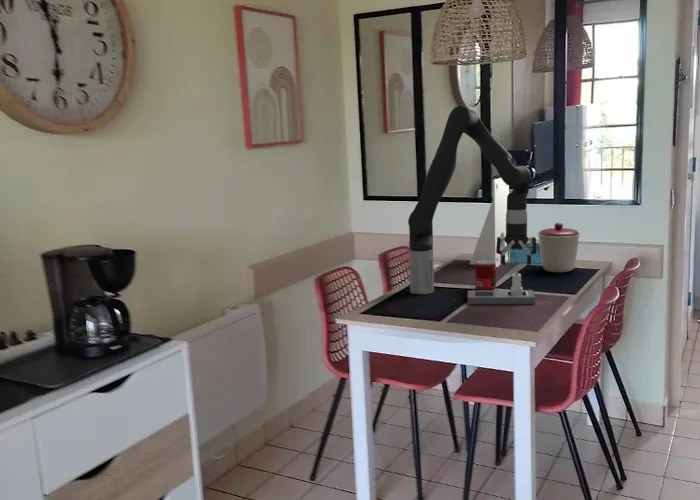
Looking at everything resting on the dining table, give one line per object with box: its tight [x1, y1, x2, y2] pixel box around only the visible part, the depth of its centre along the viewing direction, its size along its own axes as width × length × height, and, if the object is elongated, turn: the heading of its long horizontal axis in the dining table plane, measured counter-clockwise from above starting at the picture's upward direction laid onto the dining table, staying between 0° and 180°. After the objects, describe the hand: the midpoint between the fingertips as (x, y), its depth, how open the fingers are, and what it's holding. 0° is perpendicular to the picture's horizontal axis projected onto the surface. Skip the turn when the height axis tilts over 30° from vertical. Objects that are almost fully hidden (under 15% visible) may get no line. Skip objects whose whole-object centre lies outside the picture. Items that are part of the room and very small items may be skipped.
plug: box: [510, 272, 524, 296], centre depth 257 cm, size 4×4×10 cm
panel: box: [467, 289, 536, 305], centre depth 258 cm, size 24×11×3 cm, turn 80°
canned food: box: [474, 260, 497, 290], centre depth 276 cm, size 8×8×11 cm
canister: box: [536, 222, 581, 273], centre depth 302 cm, size 18×18×21 cm
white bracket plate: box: [469, 177, 510, 268], centre depth 323 cm, size 20×14×40 cm
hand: (516, 265), depth 254 cm, fingers open, 8 cm apart
